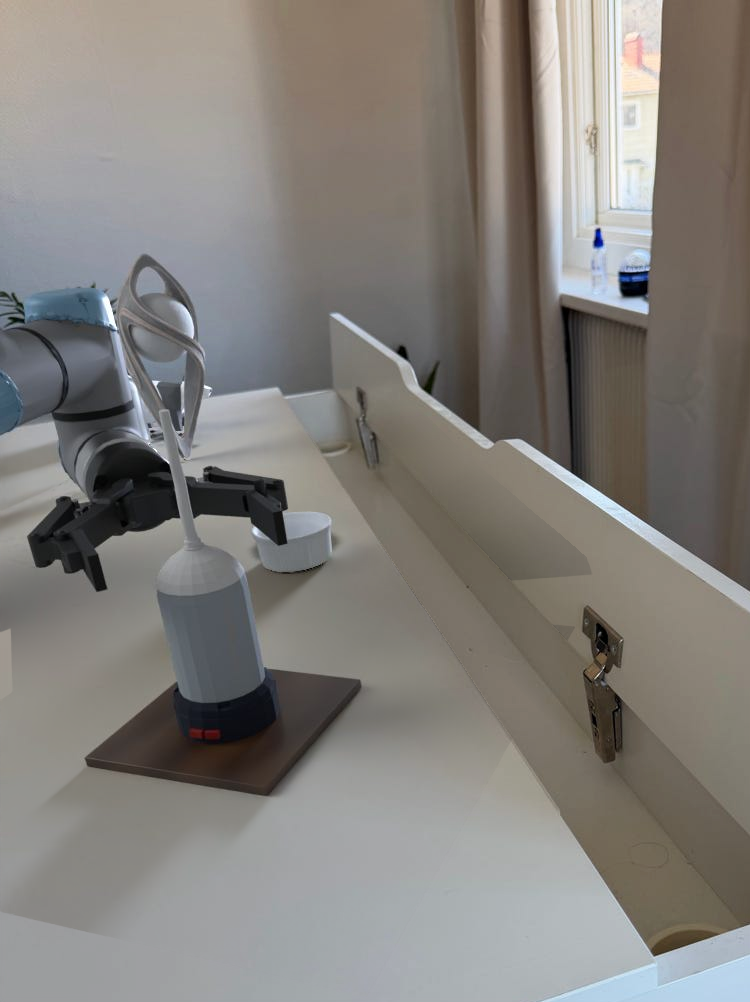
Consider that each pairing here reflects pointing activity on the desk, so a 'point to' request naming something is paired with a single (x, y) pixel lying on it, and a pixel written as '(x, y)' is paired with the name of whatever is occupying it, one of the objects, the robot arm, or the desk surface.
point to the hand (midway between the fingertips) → (192, 550)
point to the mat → (233, 765)
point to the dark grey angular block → (172, 402)
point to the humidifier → (211, 633)
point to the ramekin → (297, 543)
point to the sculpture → (162, 342)
